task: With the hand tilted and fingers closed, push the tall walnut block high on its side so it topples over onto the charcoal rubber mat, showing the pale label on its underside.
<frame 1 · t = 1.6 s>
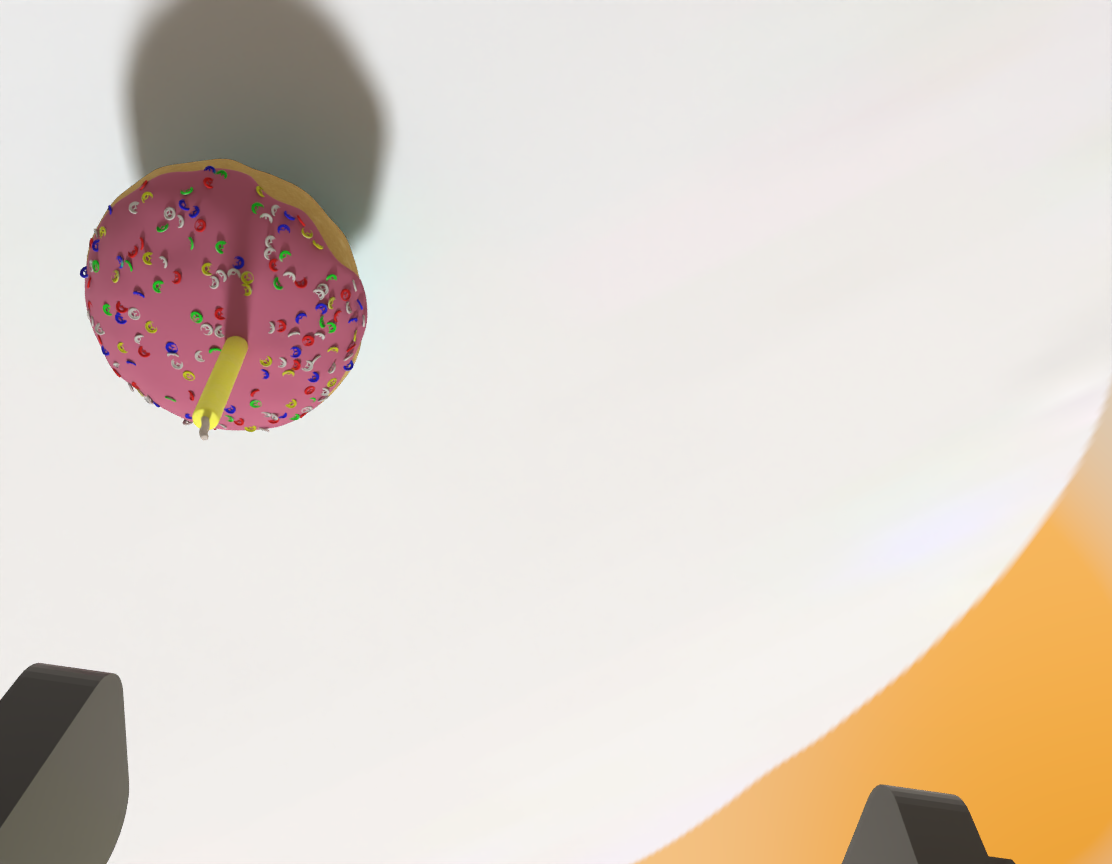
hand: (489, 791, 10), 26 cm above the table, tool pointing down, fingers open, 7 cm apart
cupcake: (272, 260, 35), on the table
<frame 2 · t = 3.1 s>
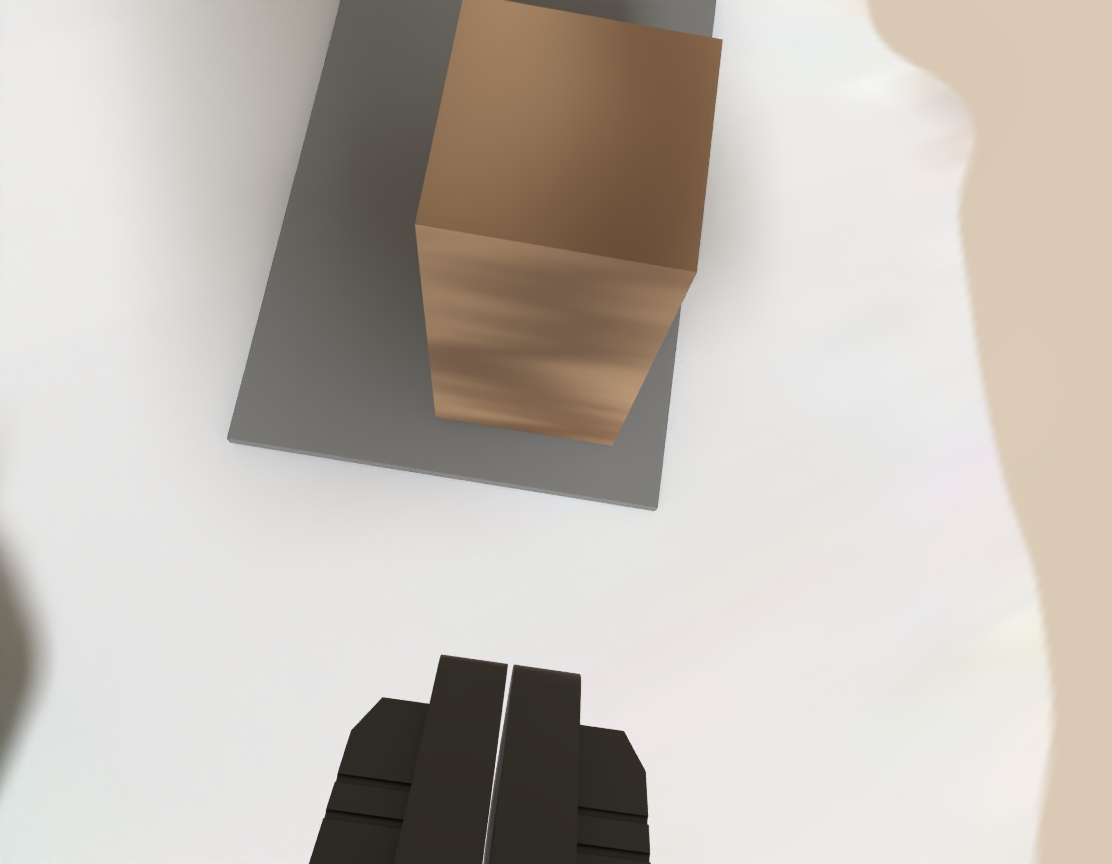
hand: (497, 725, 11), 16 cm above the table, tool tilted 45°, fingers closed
walnut block: (537, 352, 28), resting on mat
mat: (496, 197, 30), on the table
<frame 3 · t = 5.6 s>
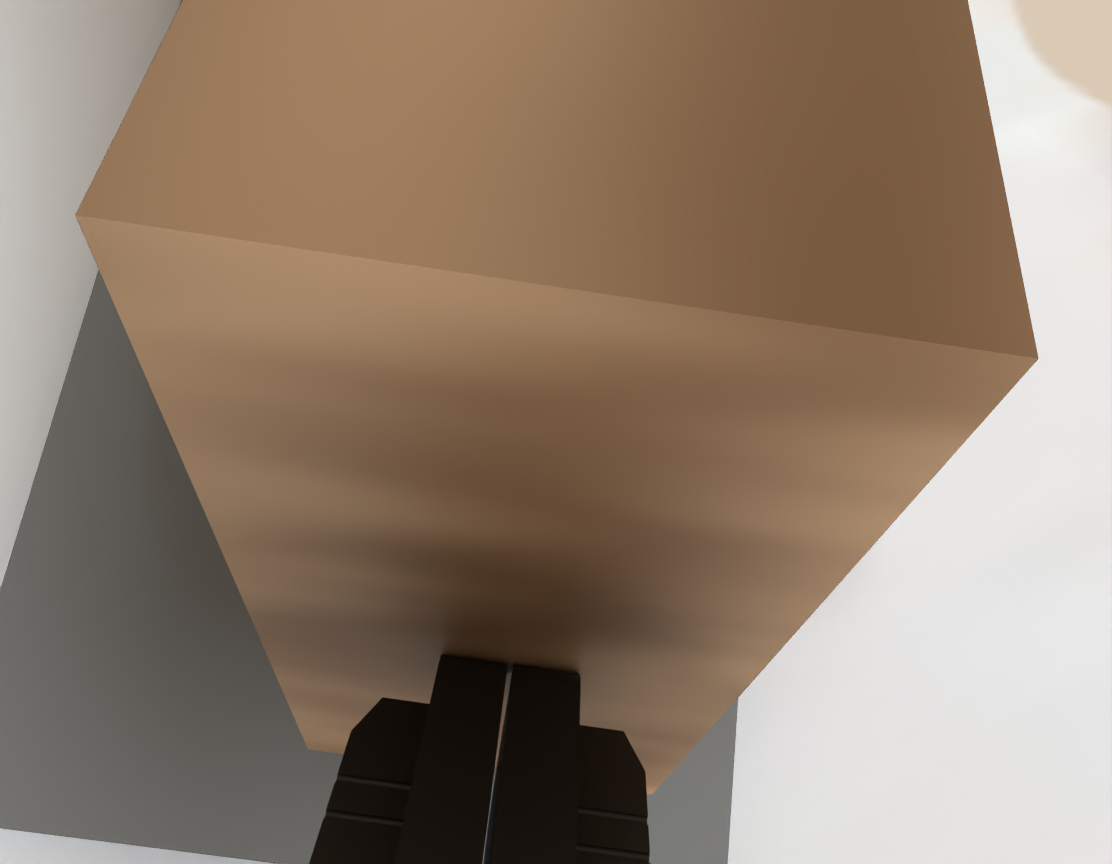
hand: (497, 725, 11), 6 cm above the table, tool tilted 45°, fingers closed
walnut block: (502, 614, 16), point 1 cm above the table, tilted 14°, touching gripper, mat
mat: (431, 338, 18), on the table
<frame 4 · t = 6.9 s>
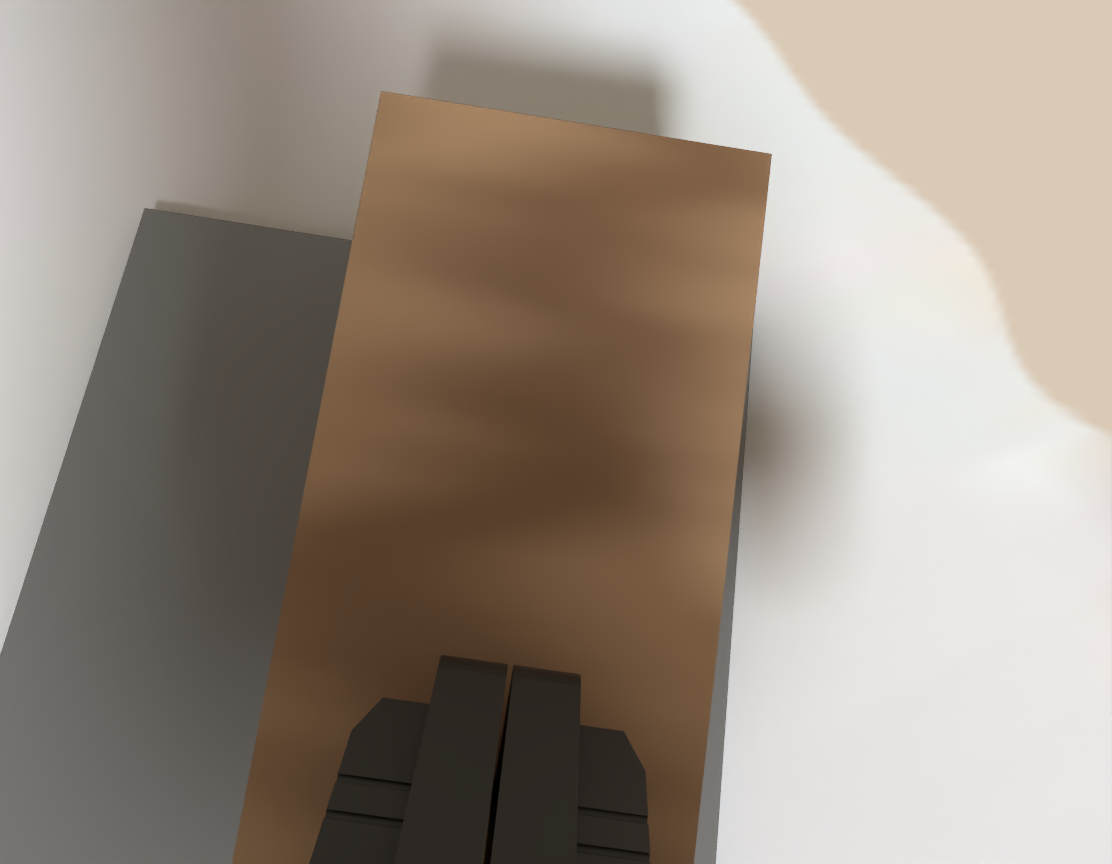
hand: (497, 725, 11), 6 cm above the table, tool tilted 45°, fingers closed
mat: (362, 735, 16), on the table
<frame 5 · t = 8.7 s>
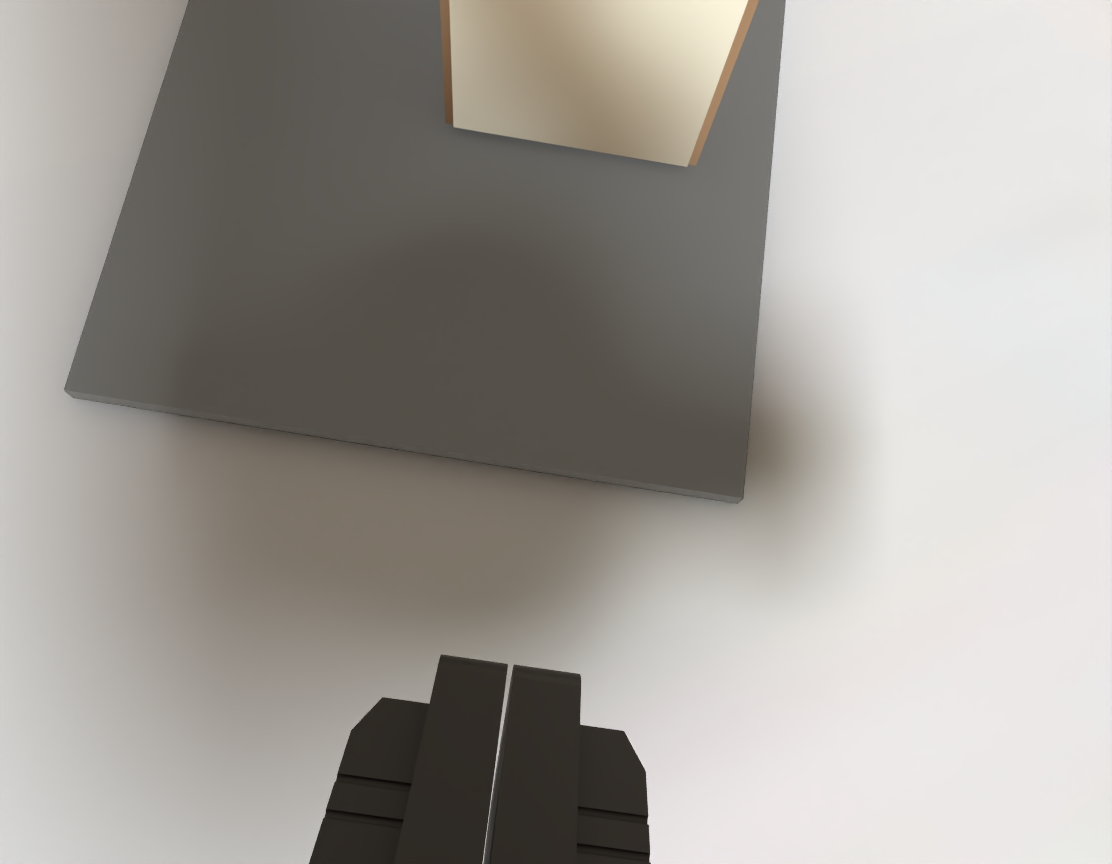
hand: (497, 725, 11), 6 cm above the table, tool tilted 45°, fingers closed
walnut block: (583, 69, 17), point 3 cm above the table, tilted 90°, touching mat
mat: (490, 41, 20), on the table
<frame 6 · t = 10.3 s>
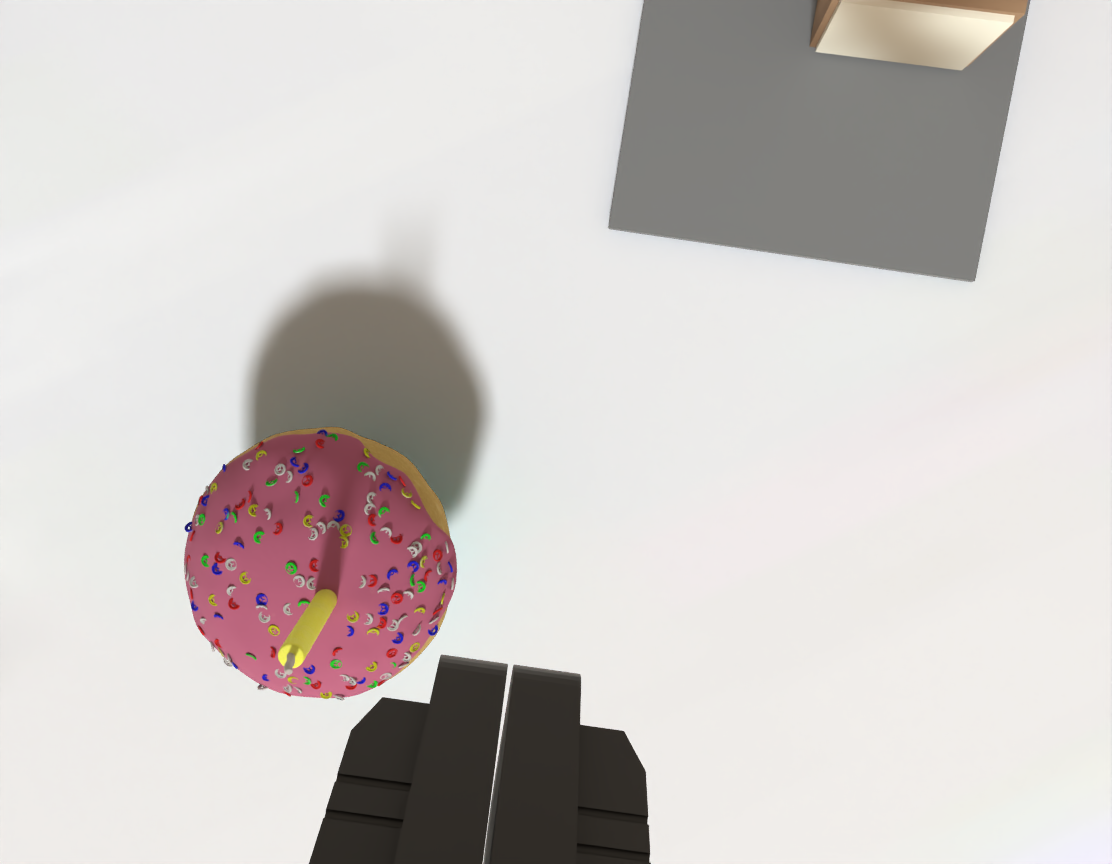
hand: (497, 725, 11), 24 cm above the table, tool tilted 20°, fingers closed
cupcake: (363, 536, 35), on the table
walnut block: (905, 38, 29), point 3 cm above the table, tilted 90°, touching mat
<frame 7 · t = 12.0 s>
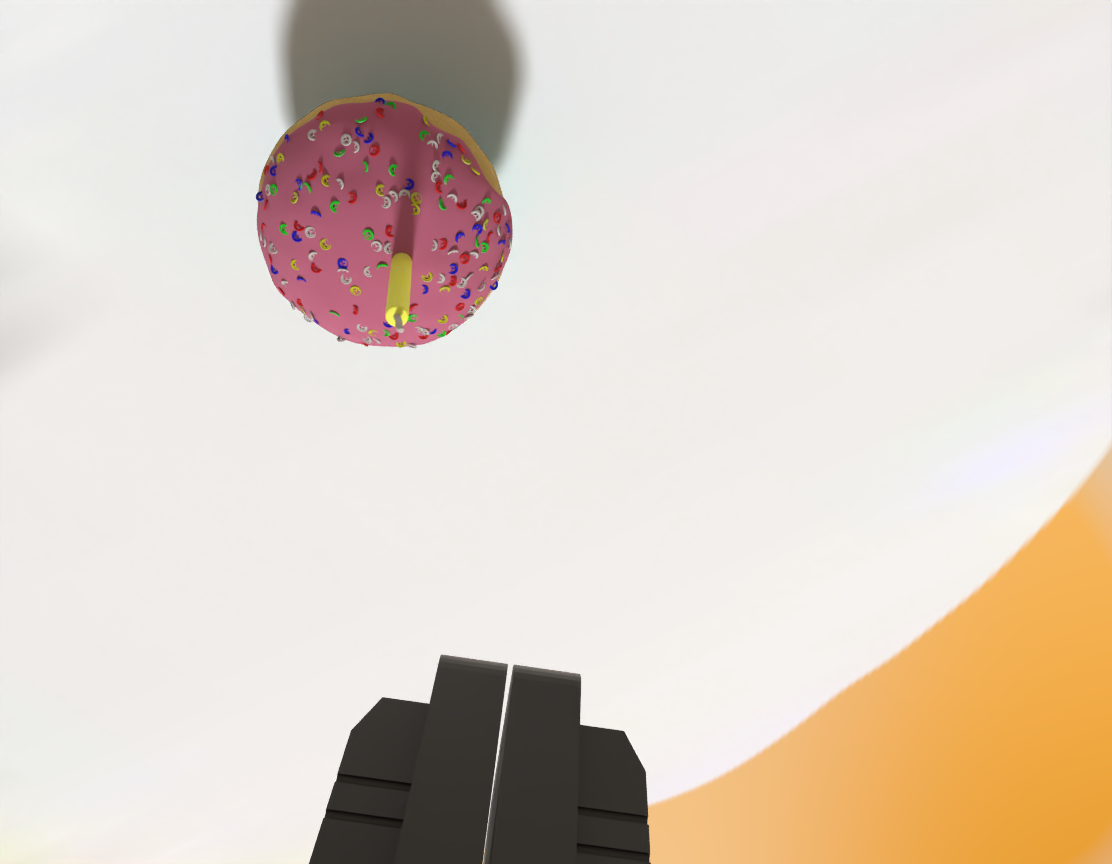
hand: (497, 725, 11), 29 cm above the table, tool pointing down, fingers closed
cupcake: (407, 196, 37), on the table
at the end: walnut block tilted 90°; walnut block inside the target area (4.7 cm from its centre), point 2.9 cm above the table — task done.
